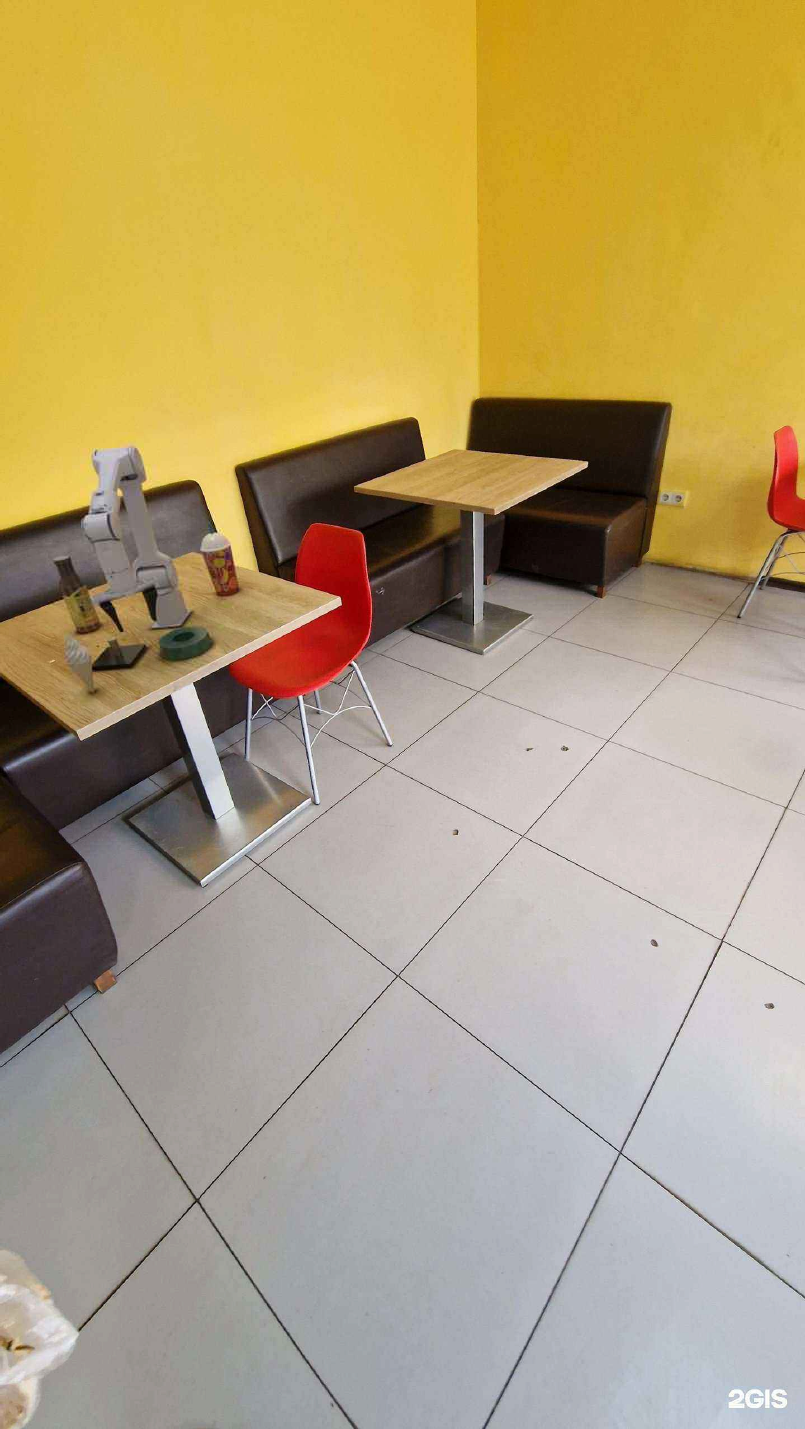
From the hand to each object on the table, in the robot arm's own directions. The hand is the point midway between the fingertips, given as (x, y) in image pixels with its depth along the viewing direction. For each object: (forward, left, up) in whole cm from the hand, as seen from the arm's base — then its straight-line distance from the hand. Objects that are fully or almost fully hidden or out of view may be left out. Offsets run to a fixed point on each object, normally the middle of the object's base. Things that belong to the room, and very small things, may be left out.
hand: (138, 625), depth 145 cm
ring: (-6, +7, -10) cm, 13 cm away
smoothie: (-41, +8, -10) cm, 43 cm away
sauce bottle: (-23, -26, -10) cm, 36 cm away
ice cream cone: (+12, -9, -10) cm, 18 cm away
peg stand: (-3, -9, -10) cm, 14 cm away
